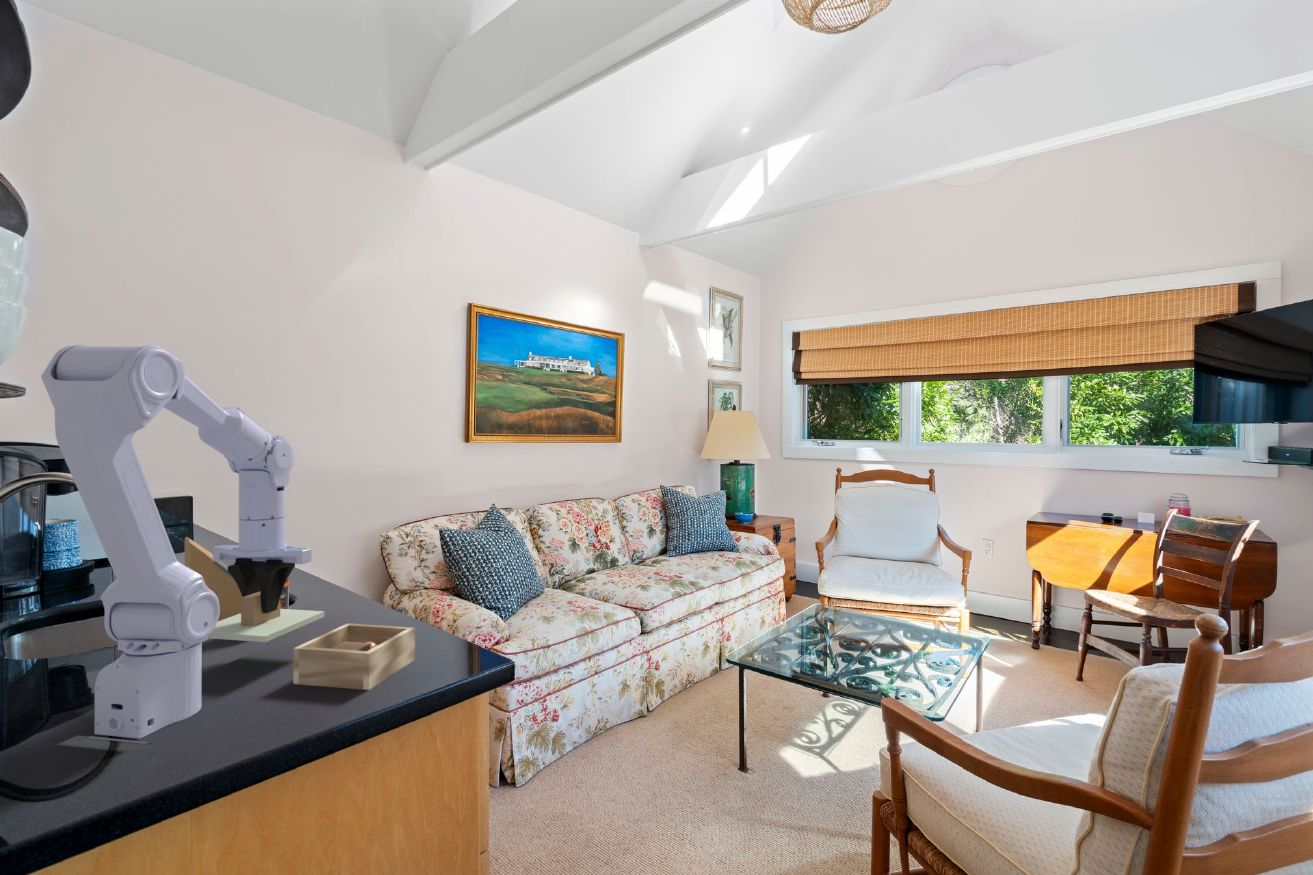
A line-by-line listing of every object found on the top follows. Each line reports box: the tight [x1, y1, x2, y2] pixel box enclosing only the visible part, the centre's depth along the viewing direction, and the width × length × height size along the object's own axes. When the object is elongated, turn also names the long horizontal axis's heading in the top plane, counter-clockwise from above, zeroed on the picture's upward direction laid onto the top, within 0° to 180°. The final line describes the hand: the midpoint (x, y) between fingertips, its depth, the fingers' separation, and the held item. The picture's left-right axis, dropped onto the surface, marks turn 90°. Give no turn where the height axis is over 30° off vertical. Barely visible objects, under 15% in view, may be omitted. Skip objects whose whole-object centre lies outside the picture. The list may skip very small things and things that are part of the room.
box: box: [292, 623, 416, 691], centre depth 87 cm, size 11×11×6 cm
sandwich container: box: [184, 536, 242, 621], centre depth 116 cm, size 9×15×15 cm, turn 132°
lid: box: [208, 592, 326, 643], centre depth 91 cm, size 12×12×5 cm
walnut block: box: [331, 642, 370, 651], centre depth 85 cm, size 4×4×4 cm
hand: (262, 610), depth 91 cm, fingers closed on lid
